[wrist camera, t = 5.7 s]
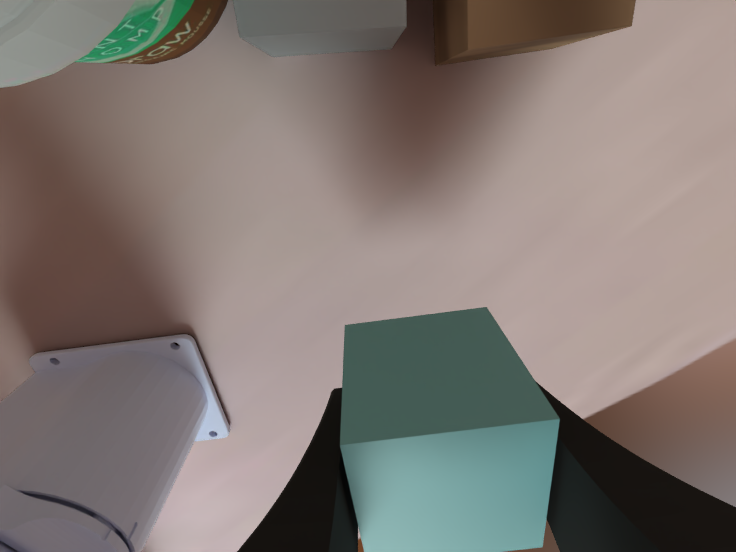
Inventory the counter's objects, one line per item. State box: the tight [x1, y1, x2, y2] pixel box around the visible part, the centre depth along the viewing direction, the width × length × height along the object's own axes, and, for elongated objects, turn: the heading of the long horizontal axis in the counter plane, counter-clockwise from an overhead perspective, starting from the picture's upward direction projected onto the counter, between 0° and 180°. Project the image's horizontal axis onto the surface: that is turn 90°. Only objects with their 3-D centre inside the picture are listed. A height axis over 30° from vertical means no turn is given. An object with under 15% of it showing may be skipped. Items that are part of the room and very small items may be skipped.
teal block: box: [340, 307, 560, 552], centre depth 12 cm, size 5×5×5 cm
